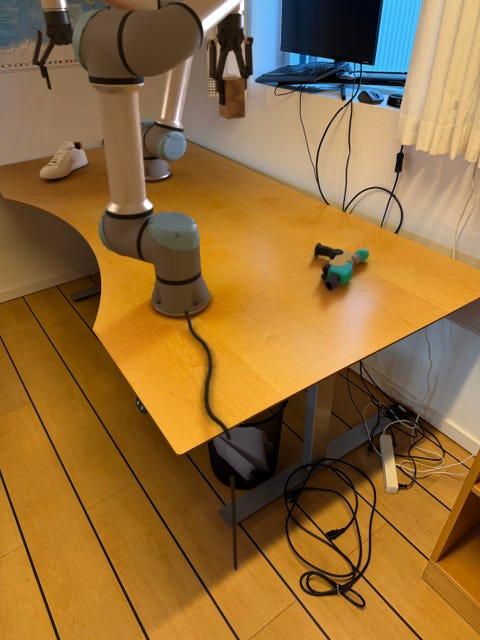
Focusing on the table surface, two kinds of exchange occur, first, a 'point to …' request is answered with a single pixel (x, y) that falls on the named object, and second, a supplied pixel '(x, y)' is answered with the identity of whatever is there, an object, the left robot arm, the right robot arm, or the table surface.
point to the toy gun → (339, 264)
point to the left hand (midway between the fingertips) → (71, 86)
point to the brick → (233, 98)
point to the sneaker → (65, 161)
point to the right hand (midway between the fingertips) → (231, 103)
